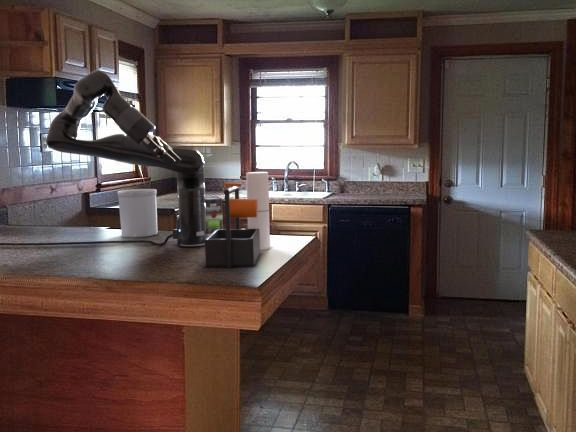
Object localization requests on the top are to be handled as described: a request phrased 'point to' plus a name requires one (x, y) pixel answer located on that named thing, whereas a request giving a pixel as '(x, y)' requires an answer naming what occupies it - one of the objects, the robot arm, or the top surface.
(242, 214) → the measuring cup
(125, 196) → the utensil holder
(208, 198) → the coffee can
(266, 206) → the cylindrical container
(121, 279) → the top surface
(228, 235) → the basket
